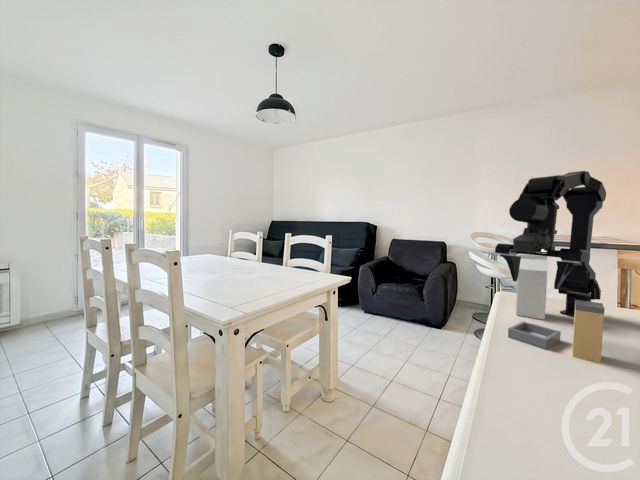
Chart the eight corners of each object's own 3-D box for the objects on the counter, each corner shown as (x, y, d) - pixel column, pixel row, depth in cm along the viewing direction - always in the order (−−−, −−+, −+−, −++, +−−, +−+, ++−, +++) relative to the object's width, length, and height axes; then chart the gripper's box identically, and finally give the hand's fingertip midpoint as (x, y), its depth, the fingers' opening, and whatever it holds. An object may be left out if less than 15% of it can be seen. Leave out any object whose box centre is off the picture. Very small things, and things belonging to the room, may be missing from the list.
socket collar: (522, 329, 76) (523, 321, 76) (560, 340, 69) (560, 331, 69) (507, 337, 72) (508, 328, 72) (546, 349, 65) (546, 340, 65)
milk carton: (544, 320, 82) (547, 257, 81) (515, 315, 87) (518, 256, 85) (543, 313, 88) (546, 254, 86) (516, 309, 92) (518, 253, 91)
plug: (572, 349, 65) (575, 299, 64) (598, 355, 62) (602, 303, 61) (572, 356, 62) (575, 304, 60) (600, 363, 59) (604, 308, 58)
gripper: (486, 222, 75) (480, 278, 76) (574, 223, 59) (565, 295, 59) (508, 225, 80) (502, 278, 81) (594, 227, 64) (586, 293, 65)
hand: (534, 285), depth 71 cm, fingers open, 9 cm apart
